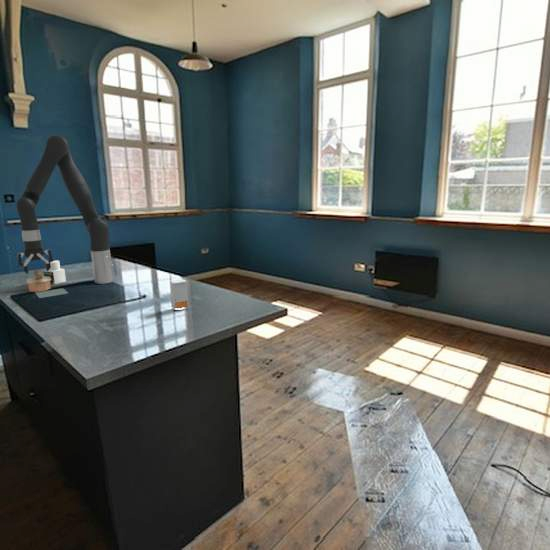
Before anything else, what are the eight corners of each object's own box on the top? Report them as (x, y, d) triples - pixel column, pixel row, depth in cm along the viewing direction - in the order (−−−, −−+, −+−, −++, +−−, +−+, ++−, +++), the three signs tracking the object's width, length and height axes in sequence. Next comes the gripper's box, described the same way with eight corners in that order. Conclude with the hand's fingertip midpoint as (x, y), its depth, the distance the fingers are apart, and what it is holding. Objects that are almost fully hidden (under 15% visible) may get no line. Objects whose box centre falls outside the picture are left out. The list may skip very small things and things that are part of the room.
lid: (48, 277, 194) (47, 267, 193) (53, 281, 186) (51, 270, 185) (25, 281, 188) (23, 270, 186) (28, 285, 180) (26, 273, 179)
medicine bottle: (45, 283, 200) (41, 261, 198) (57, 280, 207) (53, 259, 204) (54, 284, 198) (51, 262, 195) (66, 281, 204) (63, 259, 201)
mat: (63, 289, 189) (62, 288, 189) (68, 294, 180) (68, 293, 180) (35, 293, 182) (35, 292, 182) (39, 299, 173) (39, 298, 173)
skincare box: (174, 311, 153) (172, 283, 150) (171, 308, 157) (169, 280, 154) (189, 309, 156) (187, 281, 153) (186, 306, 160) (184, 279, 157)
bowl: (48, 286, 194) (47, 278, 193) (52, 290, 188) (50, 281, 186) (28, 289, 189) (26, 281, 188) (31, 293, 182) (29, 284, 181)
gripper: (47, 237, 189) (52, 268, 193) (13, 240, 181) (19, 273, 184) (50, 238, 184) (55, 271, 188) (15, 241, 175) (21, 275, 179)
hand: (37, 272), depth 186 cm, fingers open, 8 cm apart
